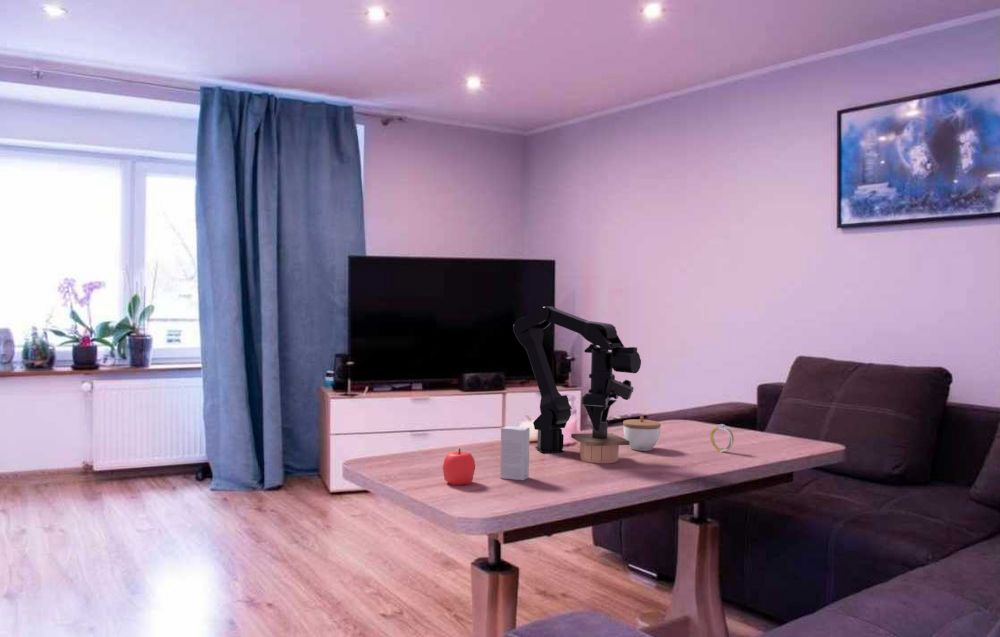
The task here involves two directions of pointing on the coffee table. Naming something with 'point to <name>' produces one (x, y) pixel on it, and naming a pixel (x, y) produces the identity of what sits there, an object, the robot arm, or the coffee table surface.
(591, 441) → the walnut lid
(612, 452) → the tan short open cylinder
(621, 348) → the robot arm
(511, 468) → the skincare box
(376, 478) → the coffee table surface
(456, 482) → the apple
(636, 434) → the lidded jar
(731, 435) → the bracelet
